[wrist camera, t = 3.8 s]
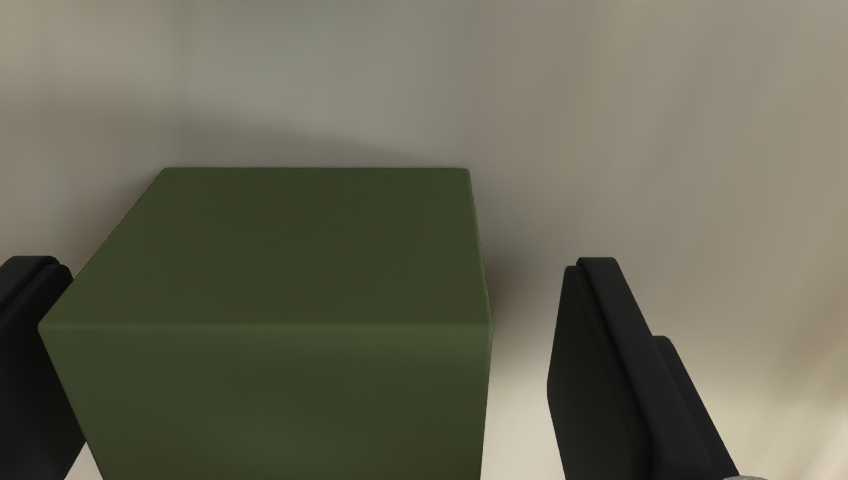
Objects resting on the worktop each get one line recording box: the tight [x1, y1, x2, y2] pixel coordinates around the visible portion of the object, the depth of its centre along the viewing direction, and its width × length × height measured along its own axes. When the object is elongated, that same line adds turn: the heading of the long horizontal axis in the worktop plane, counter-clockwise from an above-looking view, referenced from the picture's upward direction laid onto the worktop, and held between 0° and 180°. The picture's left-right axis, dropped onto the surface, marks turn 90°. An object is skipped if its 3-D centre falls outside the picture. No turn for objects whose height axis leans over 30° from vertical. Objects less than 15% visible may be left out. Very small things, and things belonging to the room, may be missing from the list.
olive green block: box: [38, 168, 493, 480], centre depth 10 cm, size 5×5×4 cm
